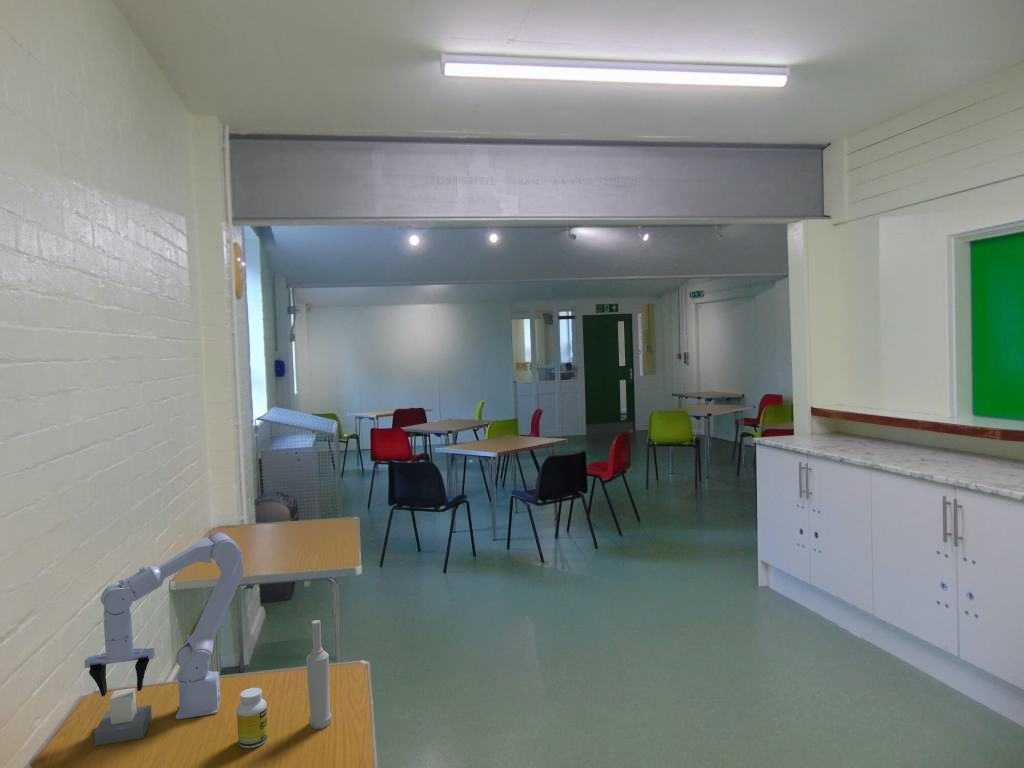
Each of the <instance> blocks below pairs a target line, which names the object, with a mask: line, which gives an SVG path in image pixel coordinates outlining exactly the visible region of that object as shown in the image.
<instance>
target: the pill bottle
mask: <svg viewBox="0 0 1024 768" xmlns="http://www.w3.org/2000/svg"><path fill="white" fill-rule="evenodd" d="M262 690H263V689H261V688H260V687H250V688H247V689H244V690H242V691H241V692H240V694H239V697H240V699H239V700H240V703H239V704H238V705H237V707H236V720H237V721H236V722H237V723H236V724H237V740H238V741H237V743H238V745H239V746H240V747H242V748H244V749H253V748H257V747H259V746H261V745H263V744H264V743H265V742H266V741H267V740H268V739H269V729H268V728H269V726H268V709H267V706H268V705H267V701H266V700H265V699H263V698H262V697H263V691H262Z"/></svg>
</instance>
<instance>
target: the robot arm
mask: <svg viewBox="0 0 1024 768" xmlns="http://www.w3.org/2000/svg"><path fill="white" fill-rule="evenodd" d="M242 551H243V550H241V548H240V546H239V545H238V543H237V542H236V541H235V540H233V539H232V538H231V537H230V535H228V534H227V533H225V532H223V531H218V532H213V533H211V534H210V535H209V536H205V537H203V538H201V539H200V540H198V541H197V542H196V543H194V544H193V545H191V546H189V547H188V548H185V549H184V550H182V551H181V552H180V553H178V554H177V555H175V556H173V557H172V558H169V559H168V560H167V561H165V562H163V563H162V564H160V565H158V566H154V565H149V566H146V567H145V566H144V565H143V566H142V567H140V568H138V572H136V573H133V575H131V576H129V577H127V578H125V579H123V578H121V579H120V580H118V583H113V584H109V585H108V586H106V587H105V588H104V590H103V591H102V594H101V597H100V602H101V603H102V605H103V630H104V631H103V632H104V645H105V648H104V649H105V652H104V653H99V654H95V655H90V656H86V657H85V659H84V660H83V661H84V669H89V670H88V673H89V676H91V678H92V679H93V680H94V682H95V683H96V686H97V687H98V690H99V693H100V696H101V697H105V696H106V695H107V693H108V685H107V684H108V683H107V665H109V664H117V663H118V664H119V663H124V662H131V661H132V662H133V661H136V663H135V664H134V669H135V673H136V688H137V689H136V690H137V692H140V691H141V692H142V689H143V687H144V686H143V685H144V678H145V674H146V670H147V668H148V664H149V663H150V660H154V658H155V656H156V655H155V647H150V648H149V647H147V648H134V639H133V625H132V624H133V623H132V614H131V609H130V607H131V606H132V604H133V602H137V601H138V600H140V599H141V598H143V597H145V596H147V595H149V594H150V593H152V592H154V591H155V590H157V589H159V588H161V587H162V585H163V584H164V581H165V580H166V579H167V578H169V577H170V576H172V575H174V574H176V573H178V572H180V571H183V569H187V568H188V567H191V566H192V565H194V564H196V563H205V564H206V563H207V564H212V560H214V562H215V564H216V566H217V567H218V569H219V572H220V575H219V577H218V578H217V581H216V584H215V586H214V587H213V590H212V592H211V595H210V597H209V599H208V601H207V602H206V603H207V604H206V605H205V608H204V609H203V612H202V614H201V616H200V618H199V621H198V622H197V625H196V627H195V630H194V632H192V634H190V636H188V638H187V640H186V642H184V644H183V645H182V646H181V647H180V648H179V649H178V651H177V653H176V655H175V658H176V659H175V661H176V663H177V665H178V666H179V667H180V671H179V673H178V675H177V686H178V704H179V705H178V706H179V708H178V710H177V712H176V715H175V720H184V719H189V718H195V717H201V716H202V717H203V716H207V715H213V714H214V715H215V714H217V713H218V712H219V707H220V703H221V699H222V697H221V687H220V686H221V685H220V672H219V671H212V670H210V669H211V657H212V655H213V650H214V641H215V639H216V636H217V634H218V632H219V630H220V628H221V625H222V623H223V621H224V618H225V617H226V614H227V613H228V609H229V607H230V606H231V605H230V604H231V603H232V600H233V598H234V596H235V594H236V591H237V589H238V587H239V584H240V583H241V580H242V578H243V576H244V572H245V571H244V565H243V558H242V555H243V552H242Z"/></svg>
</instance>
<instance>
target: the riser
mask: <svg viewBox="0 0 1024 768" xmlns="http://www.w3.org/2000/svg"><path fill="white" fill-rule="evenodd" d="M136 710H137V712H136V714H135V716H134V719H133V721H131V722H125V723H118V724H112V725H111V717H110V710H109V711H105V712H104V714H103V716H102V718H101V720H100V722H99V723H98V726H97V727H96V729H95V731H94V733H93V735H94V746H95V747H97V746H102V745H109V744H115V743H119V742H120V743H122V742H126V741H133V740H140V739H144V737H145V734H146V732H147V729H148V727H149V725H150V722H151V720H152V717H153V715H152V704H148V705H142V706H136Z"/></svg>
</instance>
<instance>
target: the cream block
mask: <svg viewBox="0 0 1024 768" xmlns="http://www.w3.org/2000/svg"><path fill="white" fill-rule="evenodd" d="M136 695H137V694H136V687H132V688H126V689H119V690H114V691H113V692H112V694H111V697H110V698H109V699H108V700H109V711H110V717H111V725H112V724H118V723H125V722H131V721H133V719H134V716H135V714H136V712H137V710H136V707H137V697H136Z"/></svg>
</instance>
